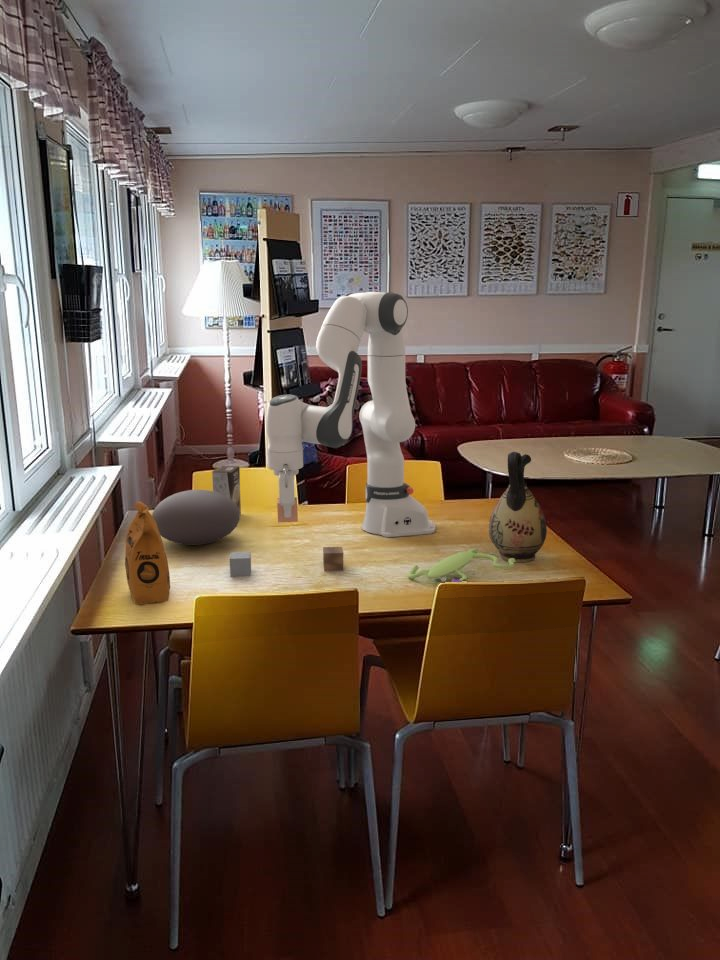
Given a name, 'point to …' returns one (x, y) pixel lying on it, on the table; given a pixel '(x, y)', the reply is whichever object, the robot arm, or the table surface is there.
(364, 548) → the table surface
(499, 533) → the ceramic jug
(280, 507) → the terracotta block
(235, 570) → the slate block
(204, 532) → the flattened ellipsoid
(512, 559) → the figurine
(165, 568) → the coffee package
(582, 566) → the table surface
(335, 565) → the walnut block
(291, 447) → the robot arm
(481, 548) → the table surface
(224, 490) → the coffee box
